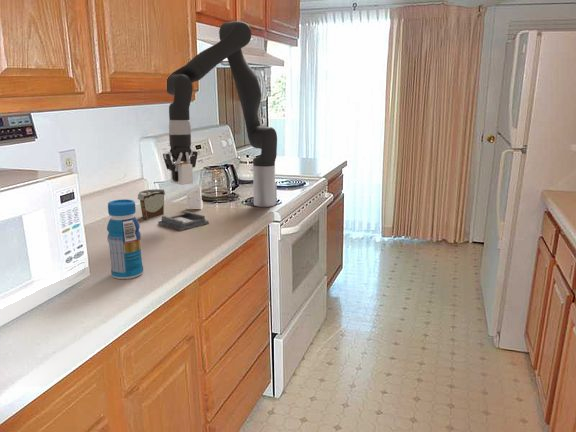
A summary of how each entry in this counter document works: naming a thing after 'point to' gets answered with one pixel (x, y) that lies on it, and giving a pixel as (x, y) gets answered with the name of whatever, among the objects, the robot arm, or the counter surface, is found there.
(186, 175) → the block
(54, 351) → the counter surface
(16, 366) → the counter surface
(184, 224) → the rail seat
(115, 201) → the beverage bottle
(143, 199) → the food container
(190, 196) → the white wedge bracket
